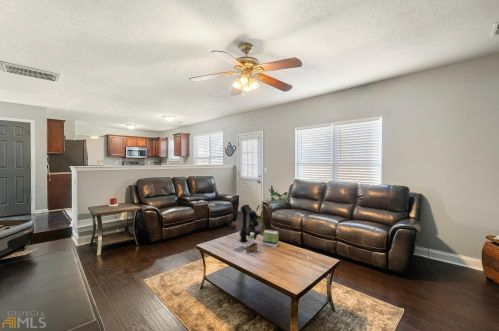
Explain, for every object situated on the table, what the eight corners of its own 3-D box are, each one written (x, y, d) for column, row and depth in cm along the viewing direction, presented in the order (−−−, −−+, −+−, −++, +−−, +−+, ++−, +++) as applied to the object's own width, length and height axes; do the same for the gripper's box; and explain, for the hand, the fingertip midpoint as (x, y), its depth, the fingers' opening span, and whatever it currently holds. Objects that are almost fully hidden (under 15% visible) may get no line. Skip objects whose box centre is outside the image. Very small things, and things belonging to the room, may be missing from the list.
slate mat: (233, 249, 230) (233, 249, 230) (241, 246, 240) (241, 245, 240) (240, 252, 224) (240, 251, 224) (248, 248, 235) (248, 247, 234)
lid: (251, 240, 222) (251, 238, 222) (246, 239, 226) (246, 236, 226) (257, 237, 230) (257, 235, 230) (252, 236, 234) (252, 233, 234)
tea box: (262, 245, 242) (262, 231, 242) (265, 242, 252) (265, 229, 251) (276, 247, 237) (276, 233, 236) (278, 244, 246) (278, 231, 246)
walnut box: (250, 253, 222) (250, 247, 222) (246, 251, 225) (246, 245, 225) (257, 249, 232) (257, 243, 232) (253, 248, 235) (253, 242, 235)
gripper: (239, 224, 227) (239, 239, 227) (254, 227, 216) (254, 243, 216) (246, 221, 236) (246, 236, 236) (261, 224, 224) (261, 240, 225)
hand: (251, 239), depth 228 cm, fingers closed on lid, 6 cm apart
